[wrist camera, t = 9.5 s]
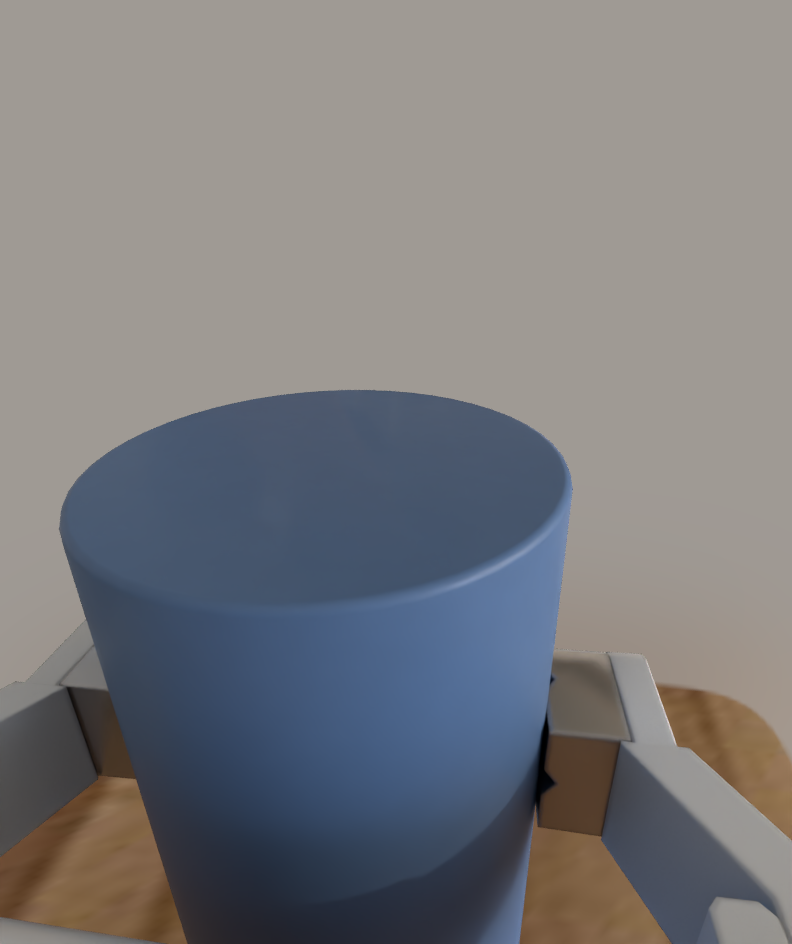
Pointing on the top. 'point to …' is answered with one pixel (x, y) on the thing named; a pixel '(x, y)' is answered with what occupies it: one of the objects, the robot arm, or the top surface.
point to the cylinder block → (331, 658)
